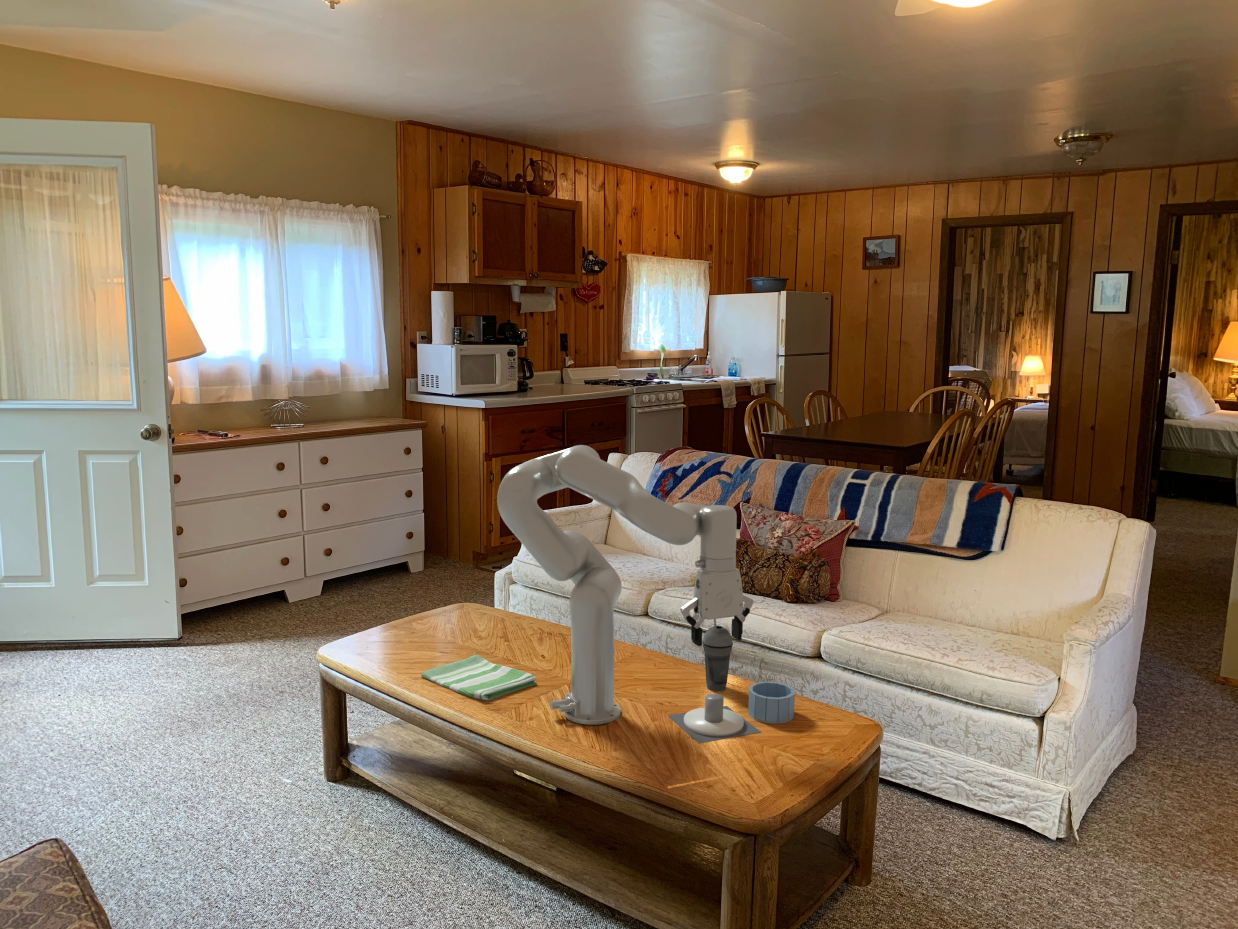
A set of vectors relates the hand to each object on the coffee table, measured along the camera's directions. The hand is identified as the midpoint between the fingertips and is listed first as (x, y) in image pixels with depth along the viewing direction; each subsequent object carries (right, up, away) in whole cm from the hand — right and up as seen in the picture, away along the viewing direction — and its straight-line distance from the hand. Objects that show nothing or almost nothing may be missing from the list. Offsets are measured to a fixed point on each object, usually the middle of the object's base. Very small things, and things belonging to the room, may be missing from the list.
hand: (717, 641), depth 200 cm
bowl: (+13, -18, +8) cm, 24 cm away
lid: (-1, -18, +2) cm, 19 cm away
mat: (-1, -19, +2) cm, 19 cm away
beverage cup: (+2, -16, +23) cm, 28 cm away
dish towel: (-55, -15, +27) cm, 63 cm away
